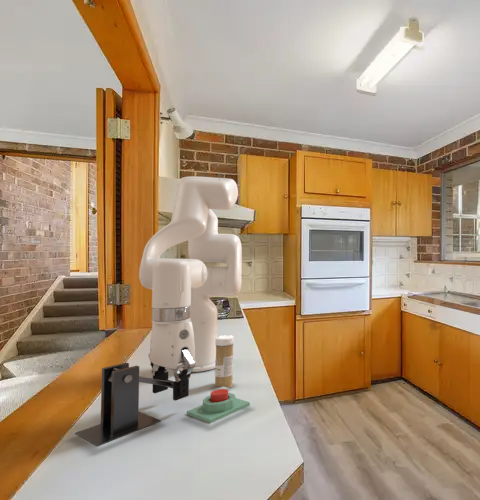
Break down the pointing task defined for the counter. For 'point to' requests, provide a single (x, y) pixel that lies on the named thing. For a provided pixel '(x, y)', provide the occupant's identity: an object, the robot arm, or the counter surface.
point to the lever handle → (150, 380)
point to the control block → (217, 408)
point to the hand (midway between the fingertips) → (170, 394)
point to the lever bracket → (118, 406)
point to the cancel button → (219, 395)
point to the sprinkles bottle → (224, 361)
